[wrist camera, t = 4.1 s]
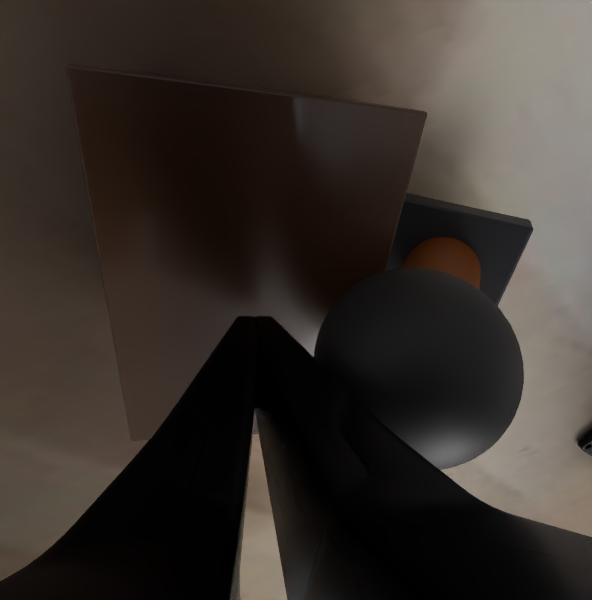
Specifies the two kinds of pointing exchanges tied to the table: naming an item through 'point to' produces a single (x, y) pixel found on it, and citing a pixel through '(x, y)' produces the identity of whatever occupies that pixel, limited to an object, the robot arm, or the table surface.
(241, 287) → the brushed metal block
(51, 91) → the table surface
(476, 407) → the ball-topped stamp
